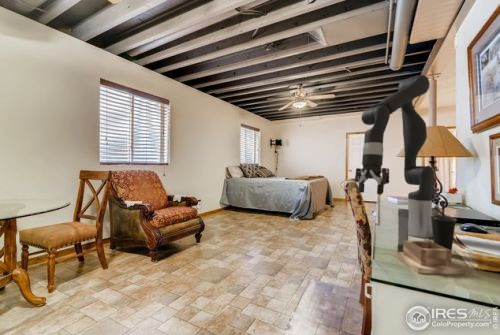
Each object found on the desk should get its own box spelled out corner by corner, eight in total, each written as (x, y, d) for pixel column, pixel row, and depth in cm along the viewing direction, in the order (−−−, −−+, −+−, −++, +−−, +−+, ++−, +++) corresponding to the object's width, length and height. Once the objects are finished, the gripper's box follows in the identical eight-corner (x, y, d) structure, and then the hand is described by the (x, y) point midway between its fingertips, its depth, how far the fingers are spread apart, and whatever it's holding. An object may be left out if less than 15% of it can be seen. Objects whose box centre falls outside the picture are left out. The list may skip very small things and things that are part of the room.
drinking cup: (450, 259, 84) (450, 203, 84) (426, 252, 91) (426, 200, 91) (460, 255, 88) (460, 202, 87) (436, 249, 94) (436, 199, 94)
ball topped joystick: (398, 249, 94) (398, 207, 93) (408, 251, 91) (409, 208, 91) (397, 252, 90) (397, 209, 90) (408, 254, 88) (408, 210, 88)
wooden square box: (432, 256, 87) (432, 239, 86) (464, 274, 73) (465, 253, 73) (393, 255, 87) (393, 238, 87) (418, 273, 73) (418, 252, 73)
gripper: (395, 154, 93) (392, 195, 92) (364, 156, 106) (362, 192, 105) (382, 152, 90) (379, 194, 89) (352, 154, 103) (349, 191, 102)
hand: (370, 193), depth 97 cm, fingers open, 8 cm apart
